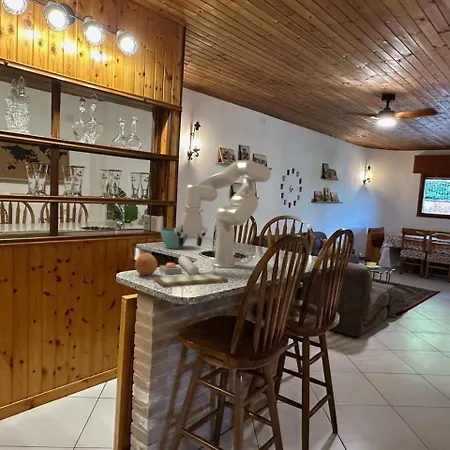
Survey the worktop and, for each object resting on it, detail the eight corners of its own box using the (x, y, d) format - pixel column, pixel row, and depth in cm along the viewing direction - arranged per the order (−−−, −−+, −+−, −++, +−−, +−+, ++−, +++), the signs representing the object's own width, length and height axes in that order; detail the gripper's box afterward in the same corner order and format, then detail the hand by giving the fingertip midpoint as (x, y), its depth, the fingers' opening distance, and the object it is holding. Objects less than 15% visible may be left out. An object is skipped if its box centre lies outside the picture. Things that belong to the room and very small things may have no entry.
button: (172, 268, 180) (173, 262, 180) (176, 270, 177) (176, 264, 177) (164, 269, 178) (165, 263, 178) (168, 271, 175) (168, 264, 175)
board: (215, 276, 175) (215, 273, 175) (227, 281, 166) (227, 278, 166) (153, 280, 160) (153, 277, 160) (163, 287, 151) (163, 283, 150)
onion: (158, 277, 165) (159, 255, 164) (134, 277, 163) (135, 255, 162) (156, 272, 174) (157, 251, 174) (134, 272, 172) (134, 251, 171)
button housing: (174, 269, 183) (175, 264, 183) (181, 273, 176) (182, 268, 176) (159, 270, 179) (159, 265, 179) (165, 274, 172) (165, 269, 172)
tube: (202, 267, 174) (189, 257, 197) (191, 264, 172) (180, 253, 196) (197, 278, 174) (185, 266, 197) (187, 275, 172) (176, 263, 196)
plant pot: (155, 248, 241) (156, 229, 240) (166, 244, 259) (166, 227, 258) (182, 251, 237) (183, 231, 236) (191, 247, 255) (192, 229, 254)
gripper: (204, 211, 190) (202, 244, 191) (172, 209, 181) (170, 244, 182) (212, 212, 183) (209, 247, 185) (179, 210, 175) (176, 247, 176)
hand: (189, 245), depth 183 cm, fingers open, 9 cm apart
